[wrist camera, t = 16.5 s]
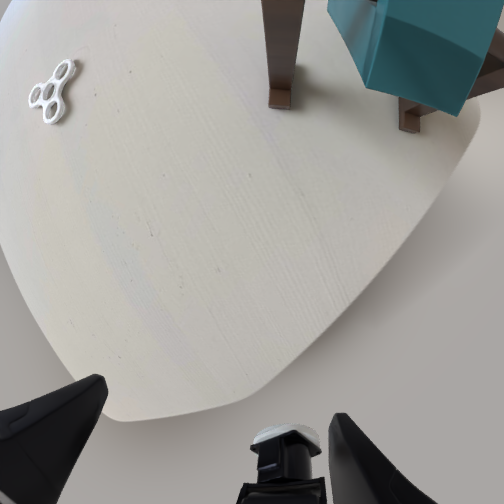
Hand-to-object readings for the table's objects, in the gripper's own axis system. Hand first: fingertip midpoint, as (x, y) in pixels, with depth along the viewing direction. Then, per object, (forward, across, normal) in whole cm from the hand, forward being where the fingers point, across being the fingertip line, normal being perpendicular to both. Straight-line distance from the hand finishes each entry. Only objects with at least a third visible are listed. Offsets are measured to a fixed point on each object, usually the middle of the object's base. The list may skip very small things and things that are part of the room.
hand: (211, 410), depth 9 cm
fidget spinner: (+13, +21, -16) cm, 29 cm away
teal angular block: (+8, -6, -24) cm, 26 cm away
